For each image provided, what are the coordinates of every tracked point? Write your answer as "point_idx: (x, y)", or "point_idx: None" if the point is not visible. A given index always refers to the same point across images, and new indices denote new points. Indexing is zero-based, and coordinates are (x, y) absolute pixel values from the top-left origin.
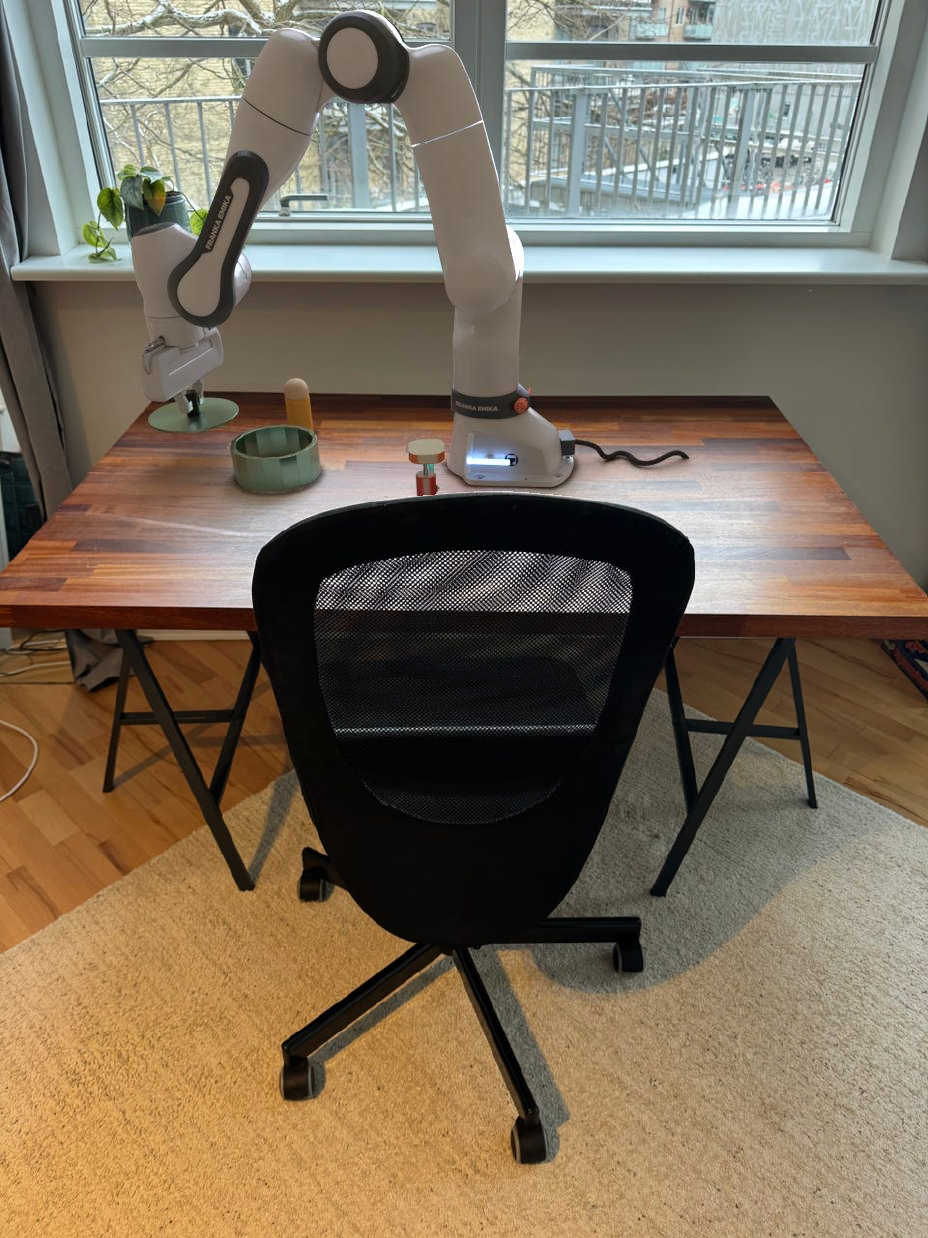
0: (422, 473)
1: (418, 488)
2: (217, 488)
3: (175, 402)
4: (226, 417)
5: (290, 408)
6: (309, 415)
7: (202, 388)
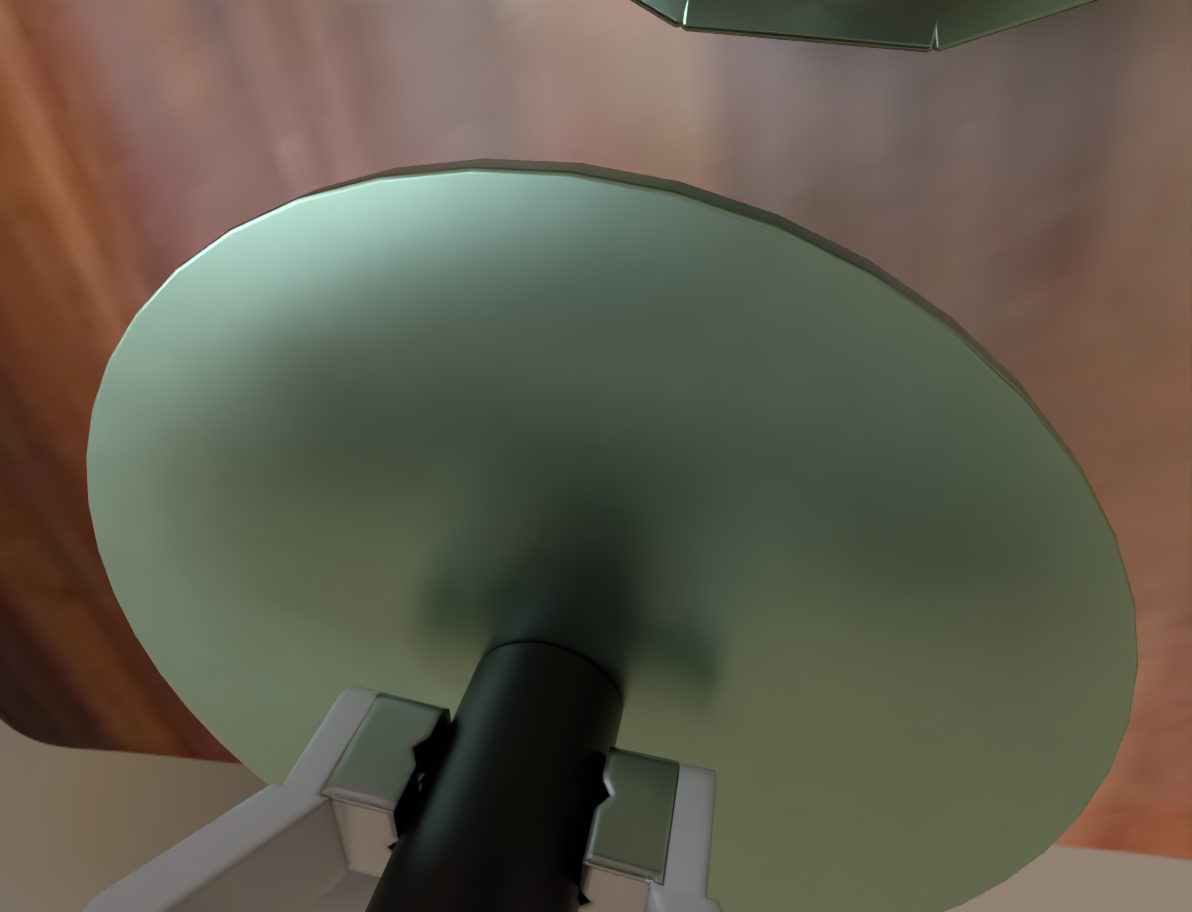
0: None
1: None
2: (1176, 116)
3: None
4: (603, 286)
5: None
6: None
7: (232, 845)
